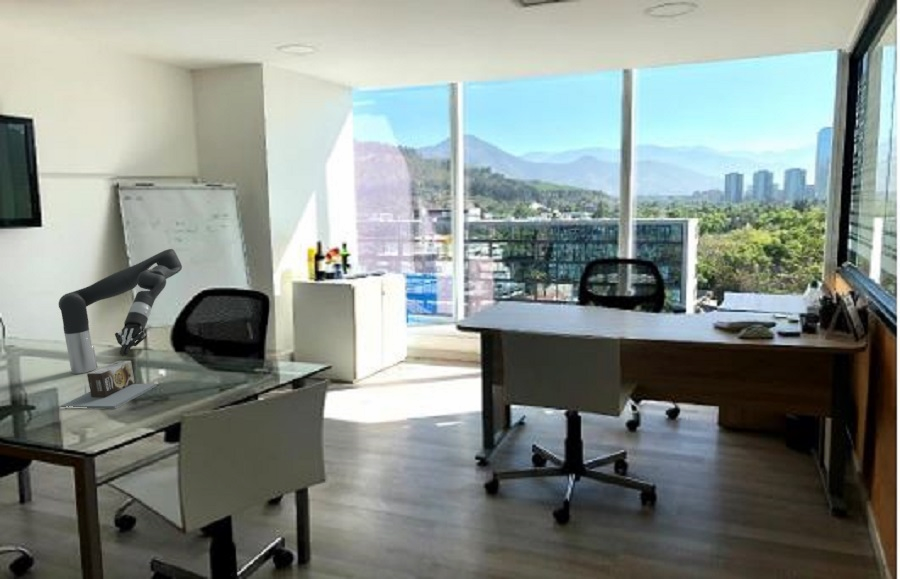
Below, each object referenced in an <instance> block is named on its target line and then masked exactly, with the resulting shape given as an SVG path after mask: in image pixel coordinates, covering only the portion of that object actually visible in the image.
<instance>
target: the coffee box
mask: <svg viewBox="0 0 900 579" xmlns="http://www.w3.org/2000/svg"><path fill="white" fill-rule="evenodd" d="M133 371H134V370H133V365H132V361H131V360H117V361H115V362H112V363H111V364H108V365H106V366H105V365H104V366H103V367H101V368H99V369H97V370H96V369H95V370H93V371H90V372H87V376H86V377H87V381H88V385H89V392H91V397H107V396H109V395H111V394H113V393H115V392H117V391H119V390H121V389H123V388H125V387H127V386H129V385H131V384H136V383H135V377H134V372H133Z"/></svg>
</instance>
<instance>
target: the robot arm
mask: <svg viewBox="0 0 900 579" xmlns="http://www.w3.org/2000/svg"><path fill="white" fill-rule="evenodd" d="M155 264H156V265H155ZM153 265H155V266H153ZM152 266H153V267H152ZM151 267H152V268H151ZM150 268H151V269H150ZM182 268H183V266H182V263H181V261H180V259H179V256H178V255H177V252H176V251H175V250H174V249H173V248H168V249H165V250H162V251H161V252H158V253H156V254H155V255H152V256H151V257H149V258H146V259H145V260H143V261H140V262H139V263H138V262H137V263H136V264H133V265H131V266H129V267H127V268H124V269H121V270H119V271H117V272H114V273H113V274H112V273H111V274H110V275H109V276H106V277H104V278H102V279H100V280H98V281H96V282H94V283H92V284H90V285H88V286H86V287H83V288H80V289H76V290H74V291H70V292H68V293H65V294H63V295H62V296H61V297H60V299H59V300H58V308H59V310H60V312H61V319H62V324H63V327H62V328H63V334H64V338H65V343H66V344H65V345H66V349H67V354H68V360H69V361H68V362H69V365H70V371H71V374H74V375H76V374H77V375H78V374H79V375H80V374H86V373H91V372H93V371H96V369H97V368H98V364H97V358H96V351H95V346H93V344H92V340H91V339H92V338H91V332H90V327H89V326H90V325H89V317H88V310H87V308H88V307H89V306H90V305H93V304H95V303H96V302H99V301H101V300H102V301H103V300H106V299H110V298H114V297H117V296H120V295H123V294H124V293H127V292H130V291H132V290H133V289H135V288H136V287H137V286H138V287H140V288H141V289H143V290H139V291H138V292H137V293H136V294H135V296H134V297H135V298H134V299H133V302H132V305H131V306H130V307H129V310H128V312H127V315H126V318H125V320H124V325H123V328H122V329H121V331H120V332H115V333H114V336H115V339H116V341H117V343H118V344H119V345H120V346H121V347H120V350H119V355H120V356H122V357H127V356H128V355H129V353H130V350H131V348H133V347H137V345H139V344H140V343H141V342H142V341H143V340H145V339H146V338H147V336H148V335H147V334H146V333H145V328H146V326H147V323H148V321H149V318H150V315H151V311H152V308H153V305H154V302H155V301H156V299H157V298H158V296H159V295H160V294H161V292H162V291H163V290H165V287H166V285H167V279H169V278H171V277H173V276H175V275H176V274H178V273H179V272H180V271H181V270H182Z"/></svg>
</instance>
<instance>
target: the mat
mask: <svg viewBox="0 0 900 579" xmlns="http://www.w3.org/2000/svg"><path fill="white" fill-rule="evenodd" d="M156 387H158V384H157V383H133V384H131V385H129V386H127V387H125V388H123V389H121V390H119V391H117V392H115V393H113V394H111V395H109V396H107V397H91V392H90V391H89V392H86V393H84V394H82V395H80V396H78V397H76V398H74V399H72V400H70V401H68V402H65V403H64V404H62V405H61V404H60V405H59V408H60V407H66V406H68V407H69V406H73V407H87V408H105V409H104V410H107V409H106V408H115V407H117V406H119V407H121V406H123V405H125V404H126V403H128V402H130V401H133V400H134V399H136V398H138V397H139V396H141V395H144V394H145V393H147V392H149V391H150V390H152V388H153V389H154V388H156ZM122 404H123V405H122ZM120 405H121V406H120Z"/></svg>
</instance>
